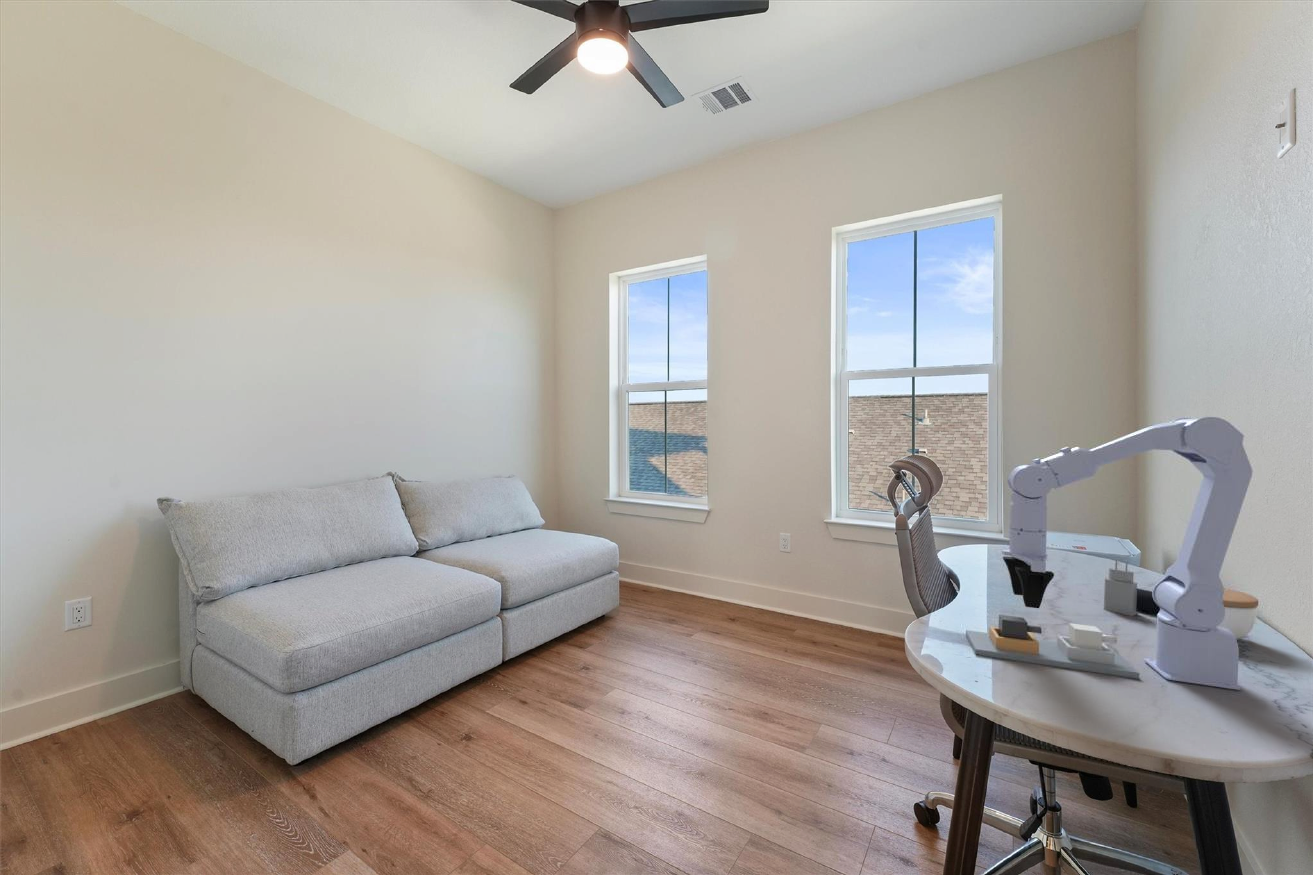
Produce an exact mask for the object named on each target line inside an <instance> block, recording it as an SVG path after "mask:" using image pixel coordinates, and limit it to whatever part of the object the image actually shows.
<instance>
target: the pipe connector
mask: <svg viewBox="0 0 1313 875" xmlns="http://www.w3.org/2000/svg"><path fill="white" fill-rule="evenodd" d="M1136 611H1140V612H1145V613H1148V614H1152V613H1153V615H1156V614H1158V613H1159V611H1160V607H1159V606H1158V605H1157V604H1156V603H1155V601H1154V599H1153V596H1152V591H1151V590H1147V589H1143V588H1138V587H1137V604H1136Z"/></svg>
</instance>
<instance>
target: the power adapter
mask: <svg viewBox="0 0 1313 875" xmlns="http://www.w3.org/2000/svg"><path fill="white" fill-rule="evenodd" d="M1114 566H1115V567H1109V568H1108V576H1106V577H1105V578H1104V586H1103V588H1104V590H1103V593H1104V594H1103V610H1106V611H1110V612H1113V613H1118V614H1123V615H1127V616H1131V617H1132V616H1135V615H1136V614H1137V610H1136V604H1137V588H1138V582H1137V581H1134V571H1132V570H1128V560H1125V569H1122V568H1118V558H1115V564H1114Z"/></svg>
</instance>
